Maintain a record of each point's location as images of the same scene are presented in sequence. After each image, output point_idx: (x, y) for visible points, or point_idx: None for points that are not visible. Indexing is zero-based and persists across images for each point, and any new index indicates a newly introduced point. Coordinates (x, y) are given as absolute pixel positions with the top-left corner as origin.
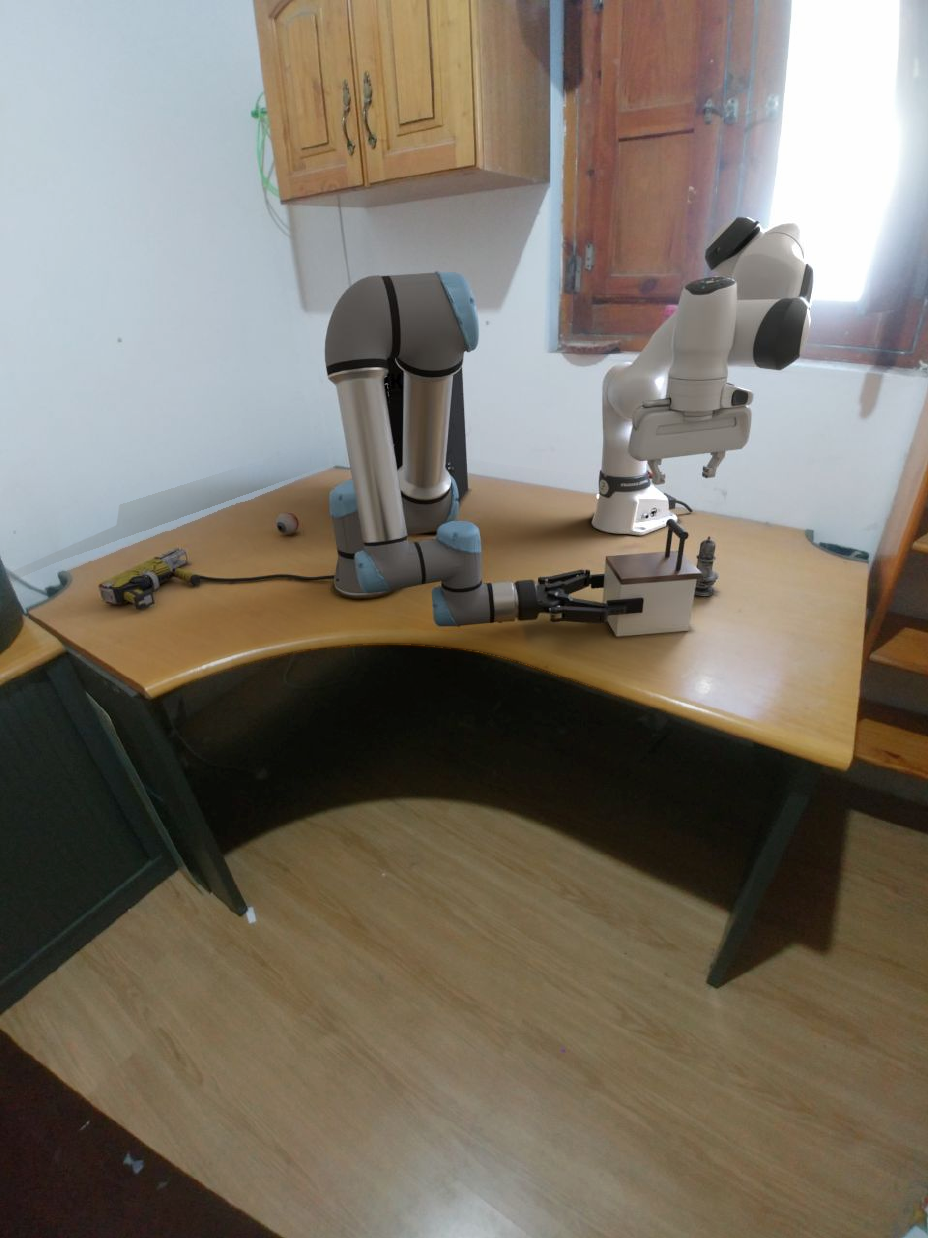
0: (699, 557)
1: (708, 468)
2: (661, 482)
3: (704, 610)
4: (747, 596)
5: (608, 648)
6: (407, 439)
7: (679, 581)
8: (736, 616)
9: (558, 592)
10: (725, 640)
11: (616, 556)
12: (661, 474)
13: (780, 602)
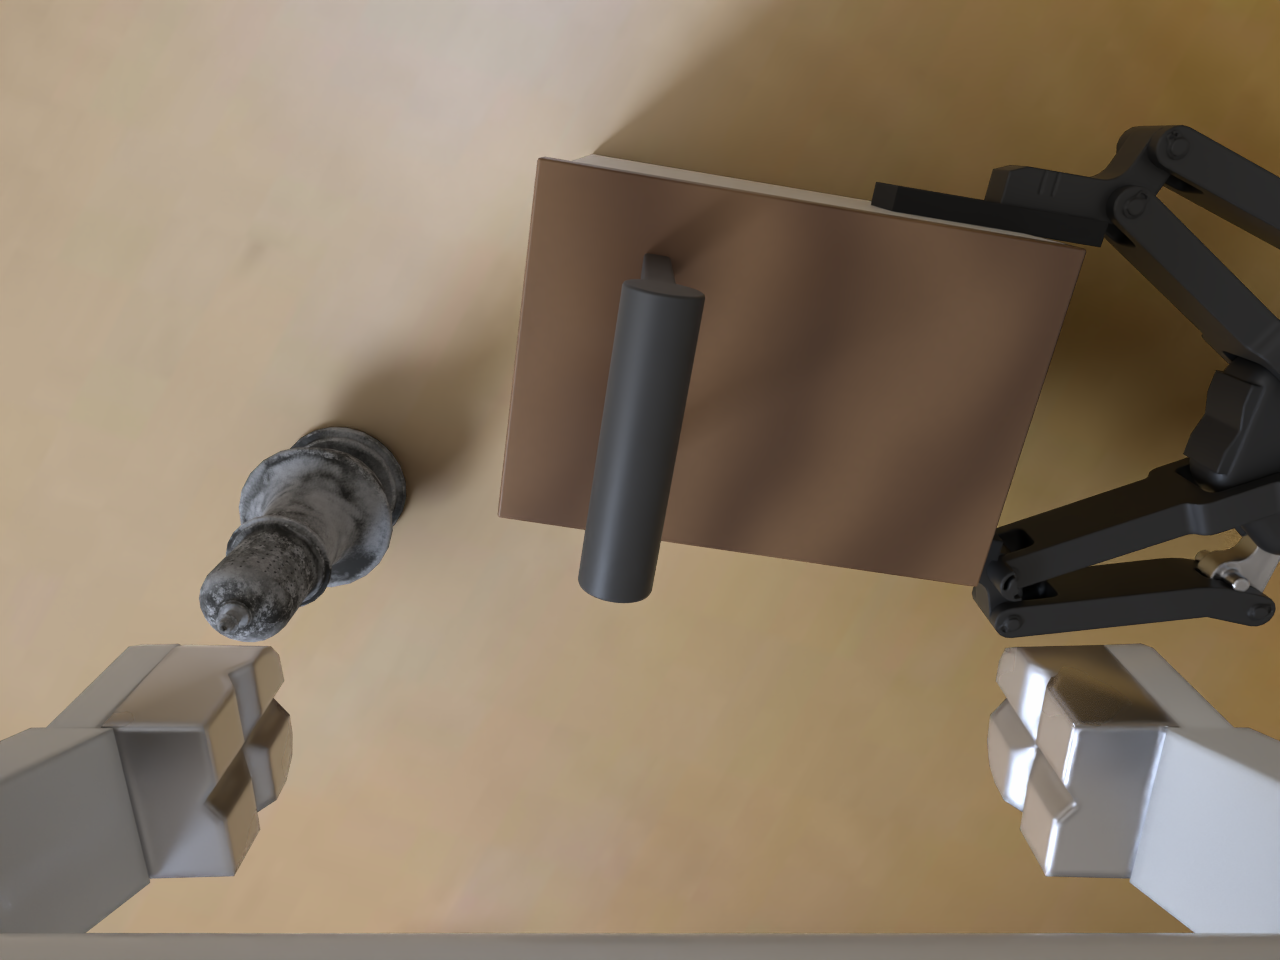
0: (318, 567)
1: (204, 743)
2: (1076, 650)
3: (418, 310)
4: (148, 368)
5: (1036, 124)
6: None
7: (685, 179)
8: (295, 206)
9: (1269, 436)
10: (464, 6)
11: (921, 561)
12: (1151, 738)
13: (14, 263)
